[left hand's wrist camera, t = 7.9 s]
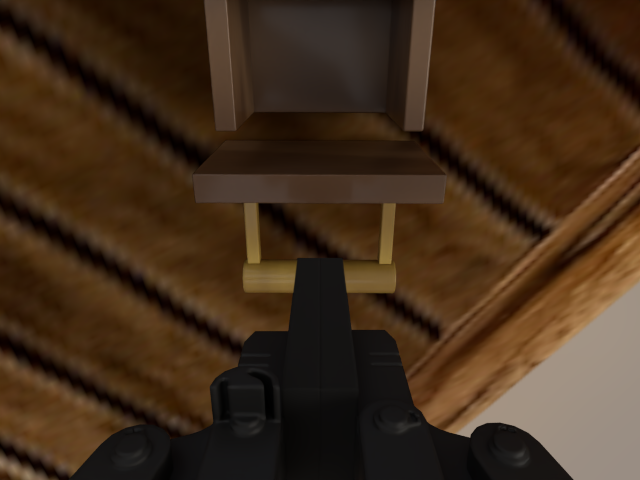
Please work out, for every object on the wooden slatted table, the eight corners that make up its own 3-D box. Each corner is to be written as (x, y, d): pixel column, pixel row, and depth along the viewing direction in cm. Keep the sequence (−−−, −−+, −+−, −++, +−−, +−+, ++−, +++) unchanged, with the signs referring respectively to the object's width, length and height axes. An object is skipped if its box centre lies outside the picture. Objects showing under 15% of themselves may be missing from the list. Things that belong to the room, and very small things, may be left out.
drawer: (404, 253, 26) (429, 317, 20) (234, 253, 26) (208, 317, 20) (445, -220, 18) (511, -358, 12) (195, -220, 18) (129, -359, 12)
